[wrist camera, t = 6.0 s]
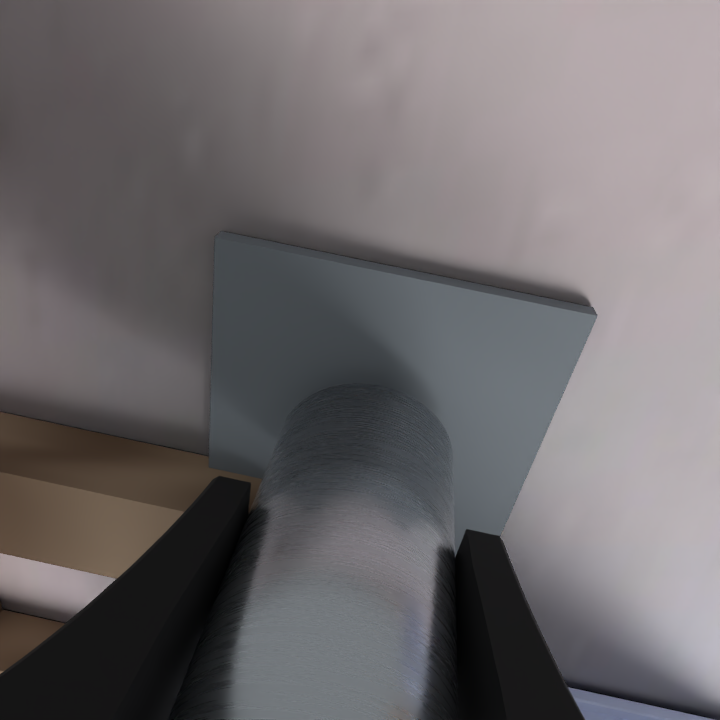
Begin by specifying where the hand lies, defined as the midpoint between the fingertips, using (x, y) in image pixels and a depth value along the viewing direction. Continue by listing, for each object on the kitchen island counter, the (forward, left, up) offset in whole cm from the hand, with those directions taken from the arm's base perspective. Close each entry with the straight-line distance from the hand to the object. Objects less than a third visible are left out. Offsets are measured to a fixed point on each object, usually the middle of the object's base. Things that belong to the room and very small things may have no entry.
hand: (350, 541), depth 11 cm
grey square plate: (0, 0, -4) cm, 4 cm away
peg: (0, 0, -3) cm, 3 cm away
